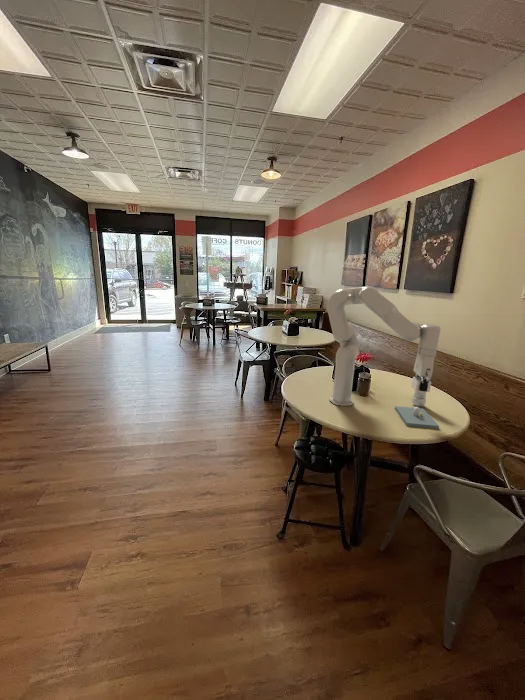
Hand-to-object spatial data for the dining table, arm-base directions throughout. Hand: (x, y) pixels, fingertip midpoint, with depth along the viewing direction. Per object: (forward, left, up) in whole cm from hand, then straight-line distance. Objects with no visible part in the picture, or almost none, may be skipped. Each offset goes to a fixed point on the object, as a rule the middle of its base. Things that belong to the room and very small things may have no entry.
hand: (420, 388), depth 138 cm
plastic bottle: (-16, +7, -16) cm, 24 cm away
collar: (0, 0, -1) cm, 1 cm away
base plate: (0, 0, -16) cm, 16 cm away
